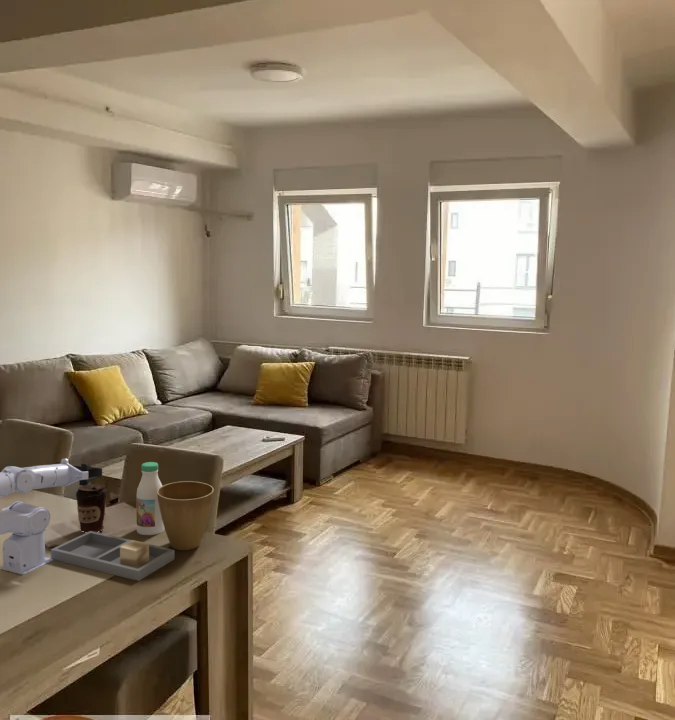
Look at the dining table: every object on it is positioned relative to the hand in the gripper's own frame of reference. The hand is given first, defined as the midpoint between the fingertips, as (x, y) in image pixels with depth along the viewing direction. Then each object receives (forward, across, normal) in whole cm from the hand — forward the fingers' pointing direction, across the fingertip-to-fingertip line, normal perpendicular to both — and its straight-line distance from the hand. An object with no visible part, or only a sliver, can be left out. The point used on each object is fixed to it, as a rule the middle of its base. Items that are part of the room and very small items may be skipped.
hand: (91, 471), depth 191 cm
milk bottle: (+15, -8, +18) cm, 25 cm away
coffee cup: (+7, +7, +18) cm, 20 cm away
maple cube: (-3, -20, +22) cm, 30 cm away
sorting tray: (-4, -13, +22) cm, 26 cm away
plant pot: (+13, -23, +20) cm, 33 cm away
